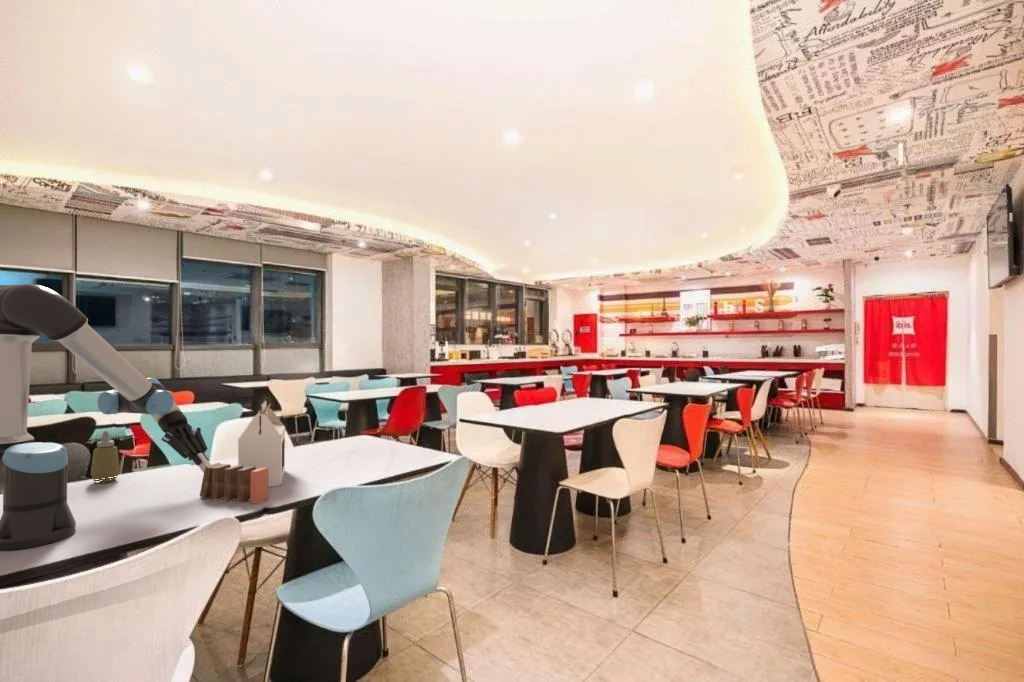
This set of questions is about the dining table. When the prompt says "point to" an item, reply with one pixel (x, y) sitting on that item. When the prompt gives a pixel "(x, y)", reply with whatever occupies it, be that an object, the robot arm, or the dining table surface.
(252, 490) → the domino
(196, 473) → the dining table surface
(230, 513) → the dining table surface
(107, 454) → the squeeze bottle
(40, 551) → the dining table surface
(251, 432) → the gable box
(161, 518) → the dining table surface
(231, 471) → the domino
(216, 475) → the domino
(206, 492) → the domino
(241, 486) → the domino
